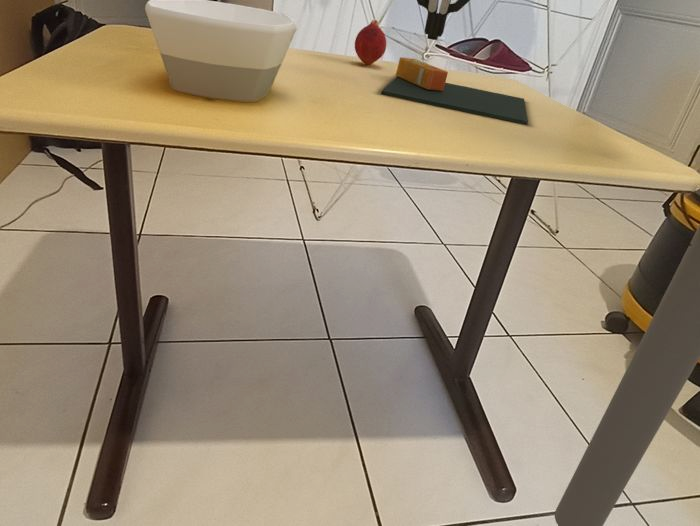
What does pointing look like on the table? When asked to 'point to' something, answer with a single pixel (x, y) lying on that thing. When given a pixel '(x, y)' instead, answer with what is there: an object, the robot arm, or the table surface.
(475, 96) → the mat
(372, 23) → the onion
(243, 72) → the bowl
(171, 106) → the table surface
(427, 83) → the supplement box
